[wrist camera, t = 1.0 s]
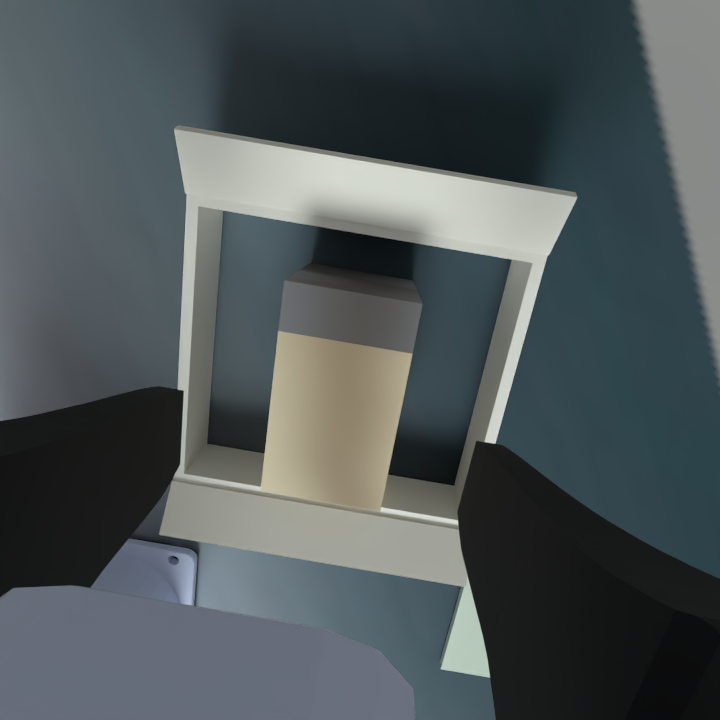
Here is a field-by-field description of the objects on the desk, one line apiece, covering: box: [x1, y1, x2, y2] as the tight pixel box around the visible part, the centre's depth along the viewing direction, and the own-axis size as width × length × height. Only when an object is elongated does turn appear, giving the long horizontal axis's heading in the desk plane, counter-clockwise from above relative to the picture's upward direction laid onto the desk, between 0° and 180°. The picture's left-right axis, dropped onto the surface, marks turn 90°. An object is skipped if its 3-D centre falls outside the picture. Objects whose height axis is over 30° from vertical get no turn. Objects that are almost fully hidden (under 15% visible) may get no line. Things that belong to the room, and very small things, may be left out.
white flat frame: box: [159, 125, 577, 587], centre depth 17 cm, size 12×14×4 cm
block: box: [260, 263, 423, 511], centre depth 17 cm, size 4×7×5 cm, turn 171°
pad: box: [440, 576, 490, 677], centre depth 22 cm, size 7×7×1 cm
